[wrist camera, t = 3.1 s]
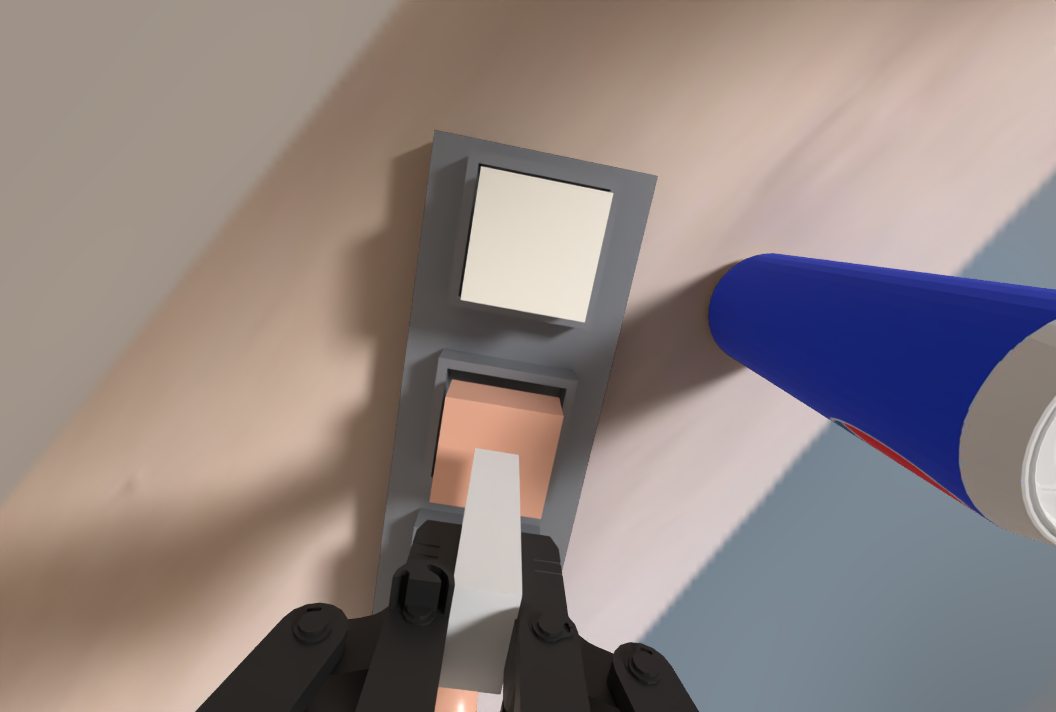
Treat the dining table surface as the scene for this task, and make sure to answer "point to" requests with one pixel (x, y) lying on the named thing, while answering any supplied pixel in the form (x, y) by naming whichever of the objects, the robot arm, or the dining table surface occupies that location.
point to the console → (502, 345)
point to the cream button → (534, 244)
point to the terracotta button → (496, 440)
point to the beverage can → (912, 371)
